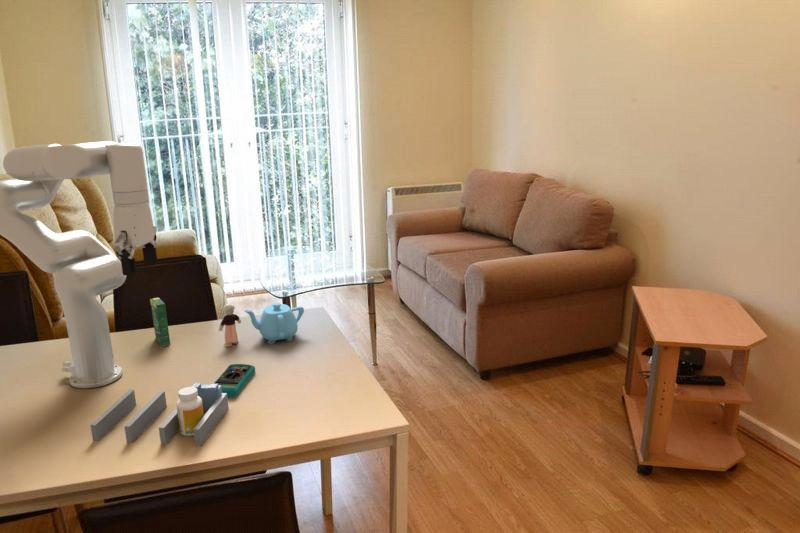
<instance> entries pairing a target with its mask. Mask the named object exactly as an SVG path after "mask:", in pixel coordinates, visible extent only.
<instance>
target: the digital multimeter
mask: <svg viewBox="0 0 800 533" xmlns="http://www.w3.org/2000/svg"><path fill="white" fill-rule="evenodd" d="M255 374H256V366H255V365H252V364H245V363H232V364H229V365H228V366H227V368H226V369H225V370H223V372H222V373H221V375H220V376H219V377H218V378H217V379H216V380H215V381H214V383H212V384H218V385H221V388H222V393H227V398H237V397H238V396H239V394H240V393H241V392H242V389H244V387H245V386H246V385H247V383H248V382H249V380H250V379H251V378H253V376H254V375H255Z"/></svg>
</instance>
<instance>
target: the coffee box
mask: <svg viewBox="0 0 800 533" xmlns="http://www.w3.org/2000/svg"><path fill="white" fill-rule="evenodd" d="M149 303H150V308H151V314H152V315H151V316H152V322H153V328H154V335H155V339H156V341H157V342H158V343H159V345H160V346H161V347H166V346H169V345H170V344H171V338H170V331H169V324H168V318H167V317H168V316H167V310H166V303H165V302H164V301H163V300H162V299H161V298H160V297H153V298H150V299H149Z"/></svg>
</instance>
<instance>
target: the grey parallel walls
mask: <svg viewBox="0 0 800 533" xmlns="http://www.w3.org/2000/svg"><path fill="white" fill-rule="evenodd" d="M190 387H195V388H197V391H198V396H199V397H200V398H201V399H202V404H203V412H206V413H204V416H203V418H202V419H201V420H200V422H199V423H198V424H197V425H196V427H195V428H194V429H193V430H194V435H193V436H194V437H193V438H194V444H195V447H201V446H202V445H203V444H204V442H205V441H206V440H207V438H209V436H210V434H211V433H212V431H213V430H214V429H215V427H216V426H217V424H218V423H220V420H221V419H222V418H223V416H224V415H225V414H226V413H227V411H228V409H229V400H228V397H227V393H222V388H221V385H218V384H213V383H211V384H202V383H201V382H194V383H193V384H192V385H191V386H190ZM135 393H136V392H135V389H128V390H127V391H126V392H125V393H124V394H123V395H121V397H120V398H118V399H117V400H115V402H114V403H113V404H111V406H110V407H108V408H107V409H106V410H105V411H103V413H101V415H99V417H97V418H96V419H95V420H94V421H93V422H91V423H90V424H89V425H90V431H91V436H92V442H100V440H102V438H103V437H105V436H106V435H107V434H108V433H109V432H110V431H111V430H113V428H114V427H115V426H116V425H117V424H119V422H120V421H122V419H123V418H124V417H125V416H126V415H127V414H128V413H130V411H131V410H132V409H133V408H135V407H136V406H137V399H136V395H135ZM166 407H167V398H166V391H165V390H159V391H158V392H157V393H156V394H155V395H154V396H153V397H152V398H150V400H149V401H148V402H147V403H146V404H145V405H144V406H143V407H142V408H141V409H140V410H139V411H138V412H137V413H135V415H134V416H133V417H132V418H131V419H130V420H129V421H128V422H127V423H126V424H125V425H124V433H125V439H126V440H125V441H126V443H127V444H128V443H131V444H132V443H134V442H135V440H136V439H137V438H138V437H140V435H142V433H143V432H144V431H145V430H146V429H147V428H148V427H149V425H151V424H152V423H153V421H154V420H155V419H156V418H157V417H158V416H159V415H160V414H161V413H162V412H163V411H164V410H165V408H166ZM158 431H159V432H158V433H159V440H160V441H159V442H160V445H167V444H168V443H169V442H170V441H171V440H172V438H173V437H174V436H175V435H176V433H177V432H178V431H180V428H179V420H178V413H177V407H176V408H174V410H173V411H171V413H170V414H169V416H168V417H167V418H165V420H164V421H163V422H162V423H161V424H160V426H158Z"/></svg>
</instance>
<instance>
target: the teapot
mask: <svg viewBox="0 0 800 533" xmlns="http://www.w3.org/2000/svg"><path fill="white" fill-rule="evenodd" d="M295 311H298V313H297V314H298V315H297V317H296V316H295V313H294V312H295ZM243 312H244V313H247V314H248V315H249V317H250V319H251V324H252V326H253V328H255V330H258V331H259V333H260V335H261V336H262V337H263V338H264V339H265V340H267V341H268V342H267V343H268V344H275V343H276V341H280V340H285V341H287V342H291V341H293V340H294V338H293V337H294V336H295V335H296V333H297V331H298V328H299V327H298V322H299V321H300V320H301V318H302V317H303V315H304V312H305V308H304V307H303V306H296V307H293V308H291V307H290V306H289V305H288V304H284V303H280V302H275V303H272V304H271V305H267V306H265V307H264V308H263V310H262V313H261V315H260V318H259V320H257V318H256V315H255V312H253V311H252V310H248V309H247V310H246V309H245V310H243ZM292 339H293V340H292ZM290 340H291V341H290Z"/></svg>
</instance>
